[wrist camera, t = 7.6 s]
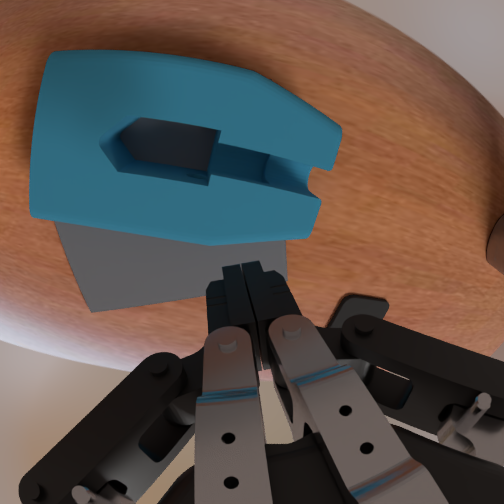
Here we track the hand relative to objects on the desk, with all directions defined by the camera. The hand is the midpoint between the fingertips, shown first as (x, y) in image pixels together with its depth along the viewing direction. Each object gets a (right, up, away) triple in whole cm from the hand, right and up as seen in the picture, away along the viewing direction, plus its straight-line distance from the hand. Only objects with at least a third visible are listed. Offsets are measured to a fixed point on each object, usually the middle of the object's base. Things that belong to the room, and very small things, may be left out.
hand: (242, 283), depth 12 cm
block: (+5, +7, +9) cm, 12 cm away
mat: (-7, +5, +11) cm, 14 cm away
